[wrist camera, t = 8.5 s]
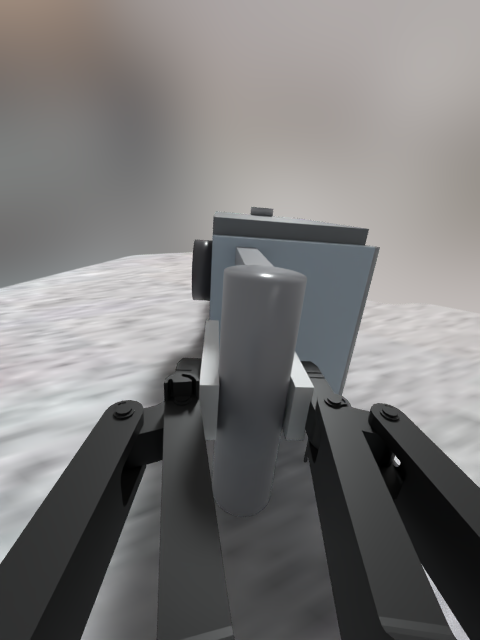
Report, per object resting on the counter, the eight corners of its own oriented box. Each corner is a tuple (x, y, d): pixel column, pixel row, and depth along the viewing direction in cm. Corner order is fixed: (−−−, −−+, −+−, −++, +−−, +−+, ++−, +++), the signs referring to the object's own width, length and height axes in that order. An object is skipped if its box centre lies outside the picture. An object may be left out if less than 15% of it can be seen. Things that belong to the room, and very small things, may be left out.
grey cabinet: (281, 321, 40) (297, 211, 34) (327, 406, 23) (373, 216, 18) (197, 318, 39) (199, 202, 33) (180, 403, 22) (180, 199, 16)
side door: (336, 397, 23) (374, 246, 18) (413, 518, 14) (522, 283, 9) (206, 395, 22) (212, 234, 17) (199, 525, 13) (209, 264, 8)
